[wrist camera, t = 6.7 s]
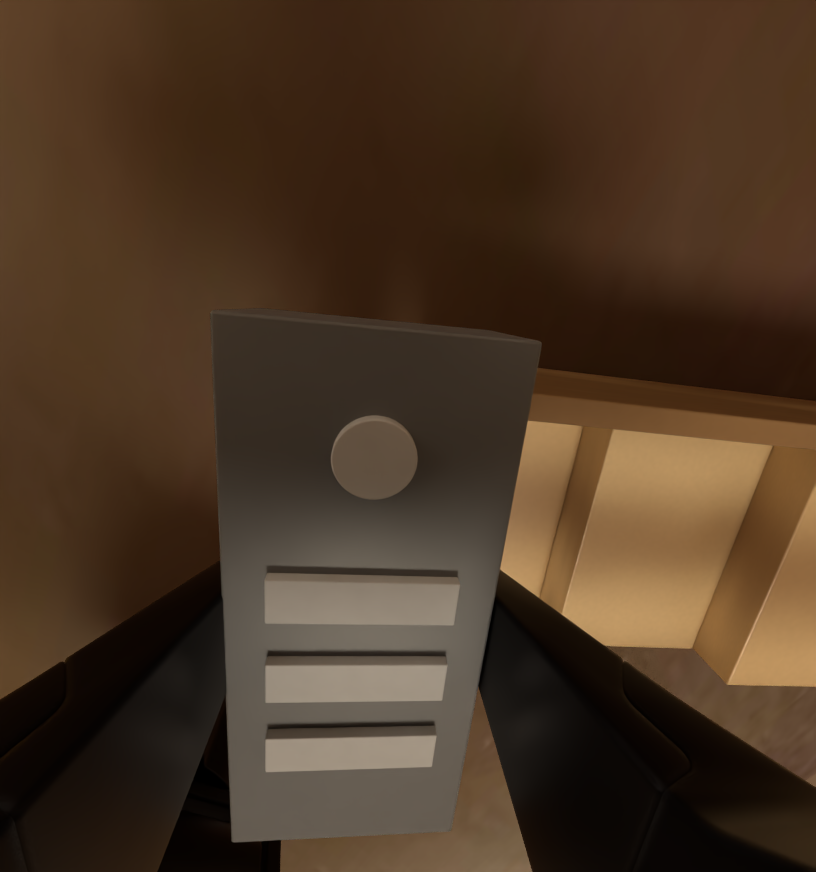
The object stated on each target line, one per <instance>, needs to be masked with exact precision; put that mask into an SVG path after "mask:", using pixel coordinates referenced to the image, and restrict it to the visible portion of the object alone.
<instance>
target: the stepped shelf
mask: <svg viewBox="0 0 816 872" xmlns="http://www.w3.org/2000/svg"><path fill="white" fill-rule="evenodd" d="M500 570H502V571H503V572H504V573H506V574H507V575H508V576H510V577H511V578H513V579H514V580H515V581H517V582H518V583H519V584H521V585H522V586H523V587H525V588H526V589H528V590H529V591H530V592H532V593H533V594H534V595H536V596H537V597H539V598H540V599H541V600H543V601H544V602H545V603H547V604H548V605H549V606H551V607H552V608H554V609H555V610H556V611H558V612H559V613H560V614H562V615H563V616H565V617H566V618H567V619H569V620H570V621H571V622H573V623H574V624H576V625H577V626H578V627H580V628H581V629H582V630H584V631H585V632H586V633H588V634H589V635H591V636H592V637H593V638H595V639H596V640H597V641H599V642H600V643H602V644H603V645H604V646H626V647H659V648H693V649H694V650H695V651H696V652H697V653H698V654H699V656H700V657H701V658H702V659H703V660H704V661H705V662H706V663H707V664H708V665H709V666H710V667H711V668H712V669H713V670H714V671H715V672H716V673H717V674H718V676H719V677H720V678H721V679H722V680H723V681H724V682H725V683H726V684H727V685H762V686H816V401H812V400H803V399H795V398H787V397H778V396H770V395H761V394H753V393H745V392H736V391H728V390H720V389H711V388H703V387H695V386H686V385H678V384H669V383H661V382H653V381H644V380H636V379H628V378H619V377H611V376H602V375H594V374H586V373H577V372H569V371H561V370H552V369H544V368H538V369H537V374H536V380H535V385H534V390H533V396H532V401H531V406H530V412H529V417H528V422H527V428H526V433H525V438H524V444H523V449H522V455H521V460H520V465H519V471H518V476H517V481H516V487H515V492H514V497H513V503H512V508H511V513H510V519H509V524H508V529H507V535H506V540H505V546H504V551H503V556H502V562H501V567H500Z"/></svg>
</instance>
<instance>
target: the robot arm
mask: <svg viewBox="0 0 816 872" xmlns="http://www.w3.org/2000/svg"><path fill="white" fill-rule="evenodd" d="M478 686H479V690H480V693H481V697H482V700H483V704H484V707H485V710H486V714H487V717H488V721H489V724H490V728H491V731H492V734H493V738H494V741H495V745H496V748H497V752H498V755H499V758H500V762H501V765H502V769H503V772H504V776H505V779H506V782H507V786H508V789H509V793H510V796H511V800H512V803H513V806H514V810H515V813H516V817H517V820H518V824H519V827H520V830H521V834H522V837H523V841H524V844H525V848H526V851H527V855H528V858H529V861H530V865H531V868H532V872H816V787H814V786H813V785H811V784H810V783H808V782H807V781H805V780H803V779H802V778H800V777H799V776H797V775H796V774H794V773H793V772H791V771H789V770H788V769H786V768H785V767H783V766H782V765H780V764H779V763H777V762H775V761H774V760H772V759H771V758H769V757H768V756H766V755H765V754H763V753H761V752H760V751H758V750H757V749H755V748H754V747H752V746H751V745H749V744H747V743H746V742H744V741H743V740H741V739H740V738H738V737H737V736H735V735H733V734H732V733H730V732H729V731H727V730H726V729H724V728H723V727H721V726H719V725H718V724H716V723H715V722H713V721H712V720H710V719H709V718H707V717H706V716H704V715H703V714H701V713H700V712H698V711H696V710H695V709H693V708H692V707H690V706H689V705H687V704H686V703H684V702H683V701H681V700H680V699H678V698H677V697H675V696H674V695H672V694H671V693H670V692H668V691H667V690H665V689H664V688H663V687H661V686H660V685H658V684H657V683H655V682H654V681H653V680H651V679H650V678H648V677H647V676H646V675H644V674H643V673H641V672H640V671H639V670H637V669H636V668H635V667H633V666H632V665H631V664H629V663H628V662H626V661H624V662H623V660H622V658H621V657H619V656H618V655H617V654H615V653H614V652H613V651H611V650H610V649H608V648H607V647H606V646H604V645H603V644H602V643H600V642H599V641H597V640H596V639H595V638H593V637H592V636H591V635H589V634H588V633H586V632H585V631H584V630H582V629H581V628H580V627H578V626H577V625H576V624H574V623H573V622H571V621H570V620H569V619H567V618H566V617H565V616H563V615H562V614H560V613H559V612H558V611H556V610H555V609H554V608H552V607H551V606H549V605H548V604H547V603H545V602H544V601H543V600H541V599H540V598H539V597H537V596H536V595H534V594H533V593H532V592H530V591H529V590H528V589H526V588H525V587H523V586H522V585H521V584H519V583H518V582H517V581H515V580H514V579H513V578H511V577H510V576H508V575H507V574H506V573H504V572H503V571H502V570H500V572H499V578H498V583H497V588H496V594H495V599H494V604H493V610H492V615H491V621H490V626H489V631H488V637H487V642H486V647H485V653H484V658H483V663H482V669H481V674H480V679H479V685H478ZM280 850H281V840H272V841H252V842H232V838H231V814H230V789H229V765H228V740H227V715H226V669H225V644H224V619H223V598H222V592H221V567H220V561H218V562H217V563H215V564H213V565H212V566H210V567H209V568H207V569H206V570H204V571H202V572H201V573H199V574H198V575H196V576H195V577H193V578H191V579H190V580H188V581H187V582H185V583H184V584H182V585H180V586H179V587H177V588H176V589H174V590H173V591H171V592H169V593H168V594H166V595H165V596H163V597H162V598H160V599H159V600H157V601H155V602H154V603H152V604H151V605H149V606H148V607H146V608H144V609H143V610H141V611H140V612H138V613H137V614H135V615H133V616H132V617H130V618H129V619H127V620H126V621H124V622H122V623H121V624H119V625H118V626H116V627H115V628H113V629H112V630H110V631H108V632H107V633H105V634H104V635H102V636H101V637H99V638H97V639H96V640H94V641H93V642H91V643H90V644H88V645H86V646H85V647H83V648H82V649H80V650H79V651H77V652H75V653H74V654H72V655H71V656H69V657H68V658H67V659H66V660H65V662H60V663H58V664H56V665H55V666H53V667H52V668H50V669H49V670H47V671H45V672H44V673H42V674H41V675H39V676H38V677H36V678H34V679H33V680H31V681H30V682H28V683H26V684H25V685H23V686H21V687H20V688H18V689H17V690H15V691H13V692H12V693H10V694H8V695H7V696H5V697H4V698H2V699H0V872H280Z"/></svg>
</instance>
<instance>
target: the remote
mask: <svg viewBox="0 0 816 872" xmlns="http://www.w3.org/2000/svg"><path fill="white" fill-rule="evenodd" d="M210 321H211V346H212V370H213V395H214V419H215V444H216V469H217V493H218V518H219V543H220V567H221V592H222V598H223V619H224V644H225V669H226V715H227V740H228V765H229V789H230V814H231V838H232V842H252V841H272V840H292V839H311V838H331V837H351V836H371V835H390V834H410V833H430V832H449V831H451V829H452V824H453V819H454V813H455V808H456V803H457V797H458V792H459V787H460V781H461V776H462V770H463V765H464V760H465V754H466V749H467V744H468V738H469V733H470V728H471V722H472V717H473V712H474V706H475V701H476V695H477V690H478V685H479V679H480V674H481V669H482V663H483V658H484V653H485V647H486V642H487V637H488V631H489V626H490V621H491V615H492V610H493V604H494V599H495V594H496V588H497V583H498V578H499V572H500V567H501V562H502V556H503V551H504V546H505V540H506V535H507V529H508V524H509V519H510V513H511V508H512V503H513V497H514V492H515V487H516V481H517V476H518V471H519V465H520V460H521V455H522V449H523V444H524V438H525V433H526V428H527V422H528V417H529V412H530V406H531V401H532V396H533V390H534V385H535V380H536V374H537V369H538V363H539V358H540V353H541V347H542V343H541V342H540V341H537V340H532V339H528V338H523V337H518V336H514V335H509V334H504V333H500V332H495V331H490V330H482V329H471V328H461V327H451V326H440V325H430V324H420V323H409V322H399V321H389V320H378V319H368V318H358V317H348V316H337V315H327V314H317V313H306V312H296V311H286V310H275V309H265V308H253V309H228V310H213V311H211V313H210Z"/></svg>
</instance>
